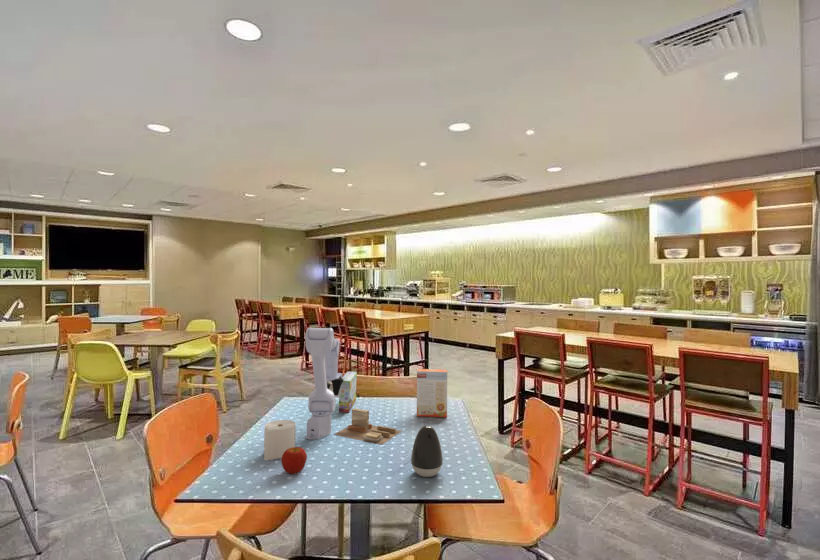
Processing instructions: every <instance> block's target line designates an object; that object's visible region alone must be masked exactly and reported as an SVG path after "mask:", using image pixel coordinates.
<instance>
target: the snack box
mask: <svg viewBox="0 0 820 560" xmlns="http://www.w3.org/2000/svg"><path fill="white" fill-rule="evenodd" d="M357 373H358V372H357V371H346V372H345V374H344V375H342V378H341V379H343V382H342V384H341V387H340V390H339V394H338V395H339V396H338V413H345V412H346V414H347V413H350V411H351V410H352V409H353V406H354V404H355V403H356V401H357V377H358V376H357V375H358V374H357ZM355 400H356V401H355ZM354 402H355V403H354Z"/></svg>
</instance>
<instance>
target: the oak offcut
mask: <svg viewBox="0 0 820 560" xmlns="http://www.w3.org/2000/svg"><path fill="white" fill-rule="evenodd" d="M381 436H382V434H380V433H375V432H369V433H367V434H365V437H367V438H372V439H378V438H380V437H381Z"/></svg>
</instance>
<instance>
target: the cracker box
mask: <svg viewBox="0 0 820 560" xmlns="http://www.w3.org/2000/svg"><path fill="white" fill-rule="evenodd" d="M416 417H426V418H427V417H429V418H433V417H434V418H448V369H435V368H432V369H431V368H418V369H417V371H416Z"/></svg>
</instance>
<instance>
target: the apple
mask: <svg viewBox="0 0 820 560" xmlns="http://www.w3.org/2000/svg"><path fill="white" fill-rule="evenodd" d="M307 457H308V455H307V451H306V450H305V448H302V447H300V446H299V447H298V446H295V447H293V448H289V449H287V450H286V451H285V452H284V453H283V455H282V458H280V461H281V466H282V469H283V470H284V472H285V473H287V474H289V475H296V474H299V473H300V472H302V471H303V470H304V468H305V465H306V463H307V459H308V458H307ZM298 472H299V473H298ZM295 473H296V474H295Z"/></svg>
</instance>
